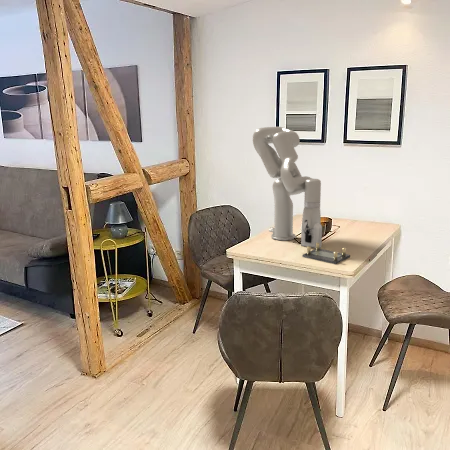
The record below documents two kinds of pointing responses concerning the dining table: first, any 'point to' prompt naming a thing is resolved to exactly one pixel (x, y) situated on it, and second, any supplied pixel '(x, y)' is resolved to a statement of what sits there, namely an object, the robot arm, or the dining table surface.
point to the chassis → (326, 255)
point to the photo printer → (313, 236)
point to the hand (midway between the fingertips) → (311, 240)
